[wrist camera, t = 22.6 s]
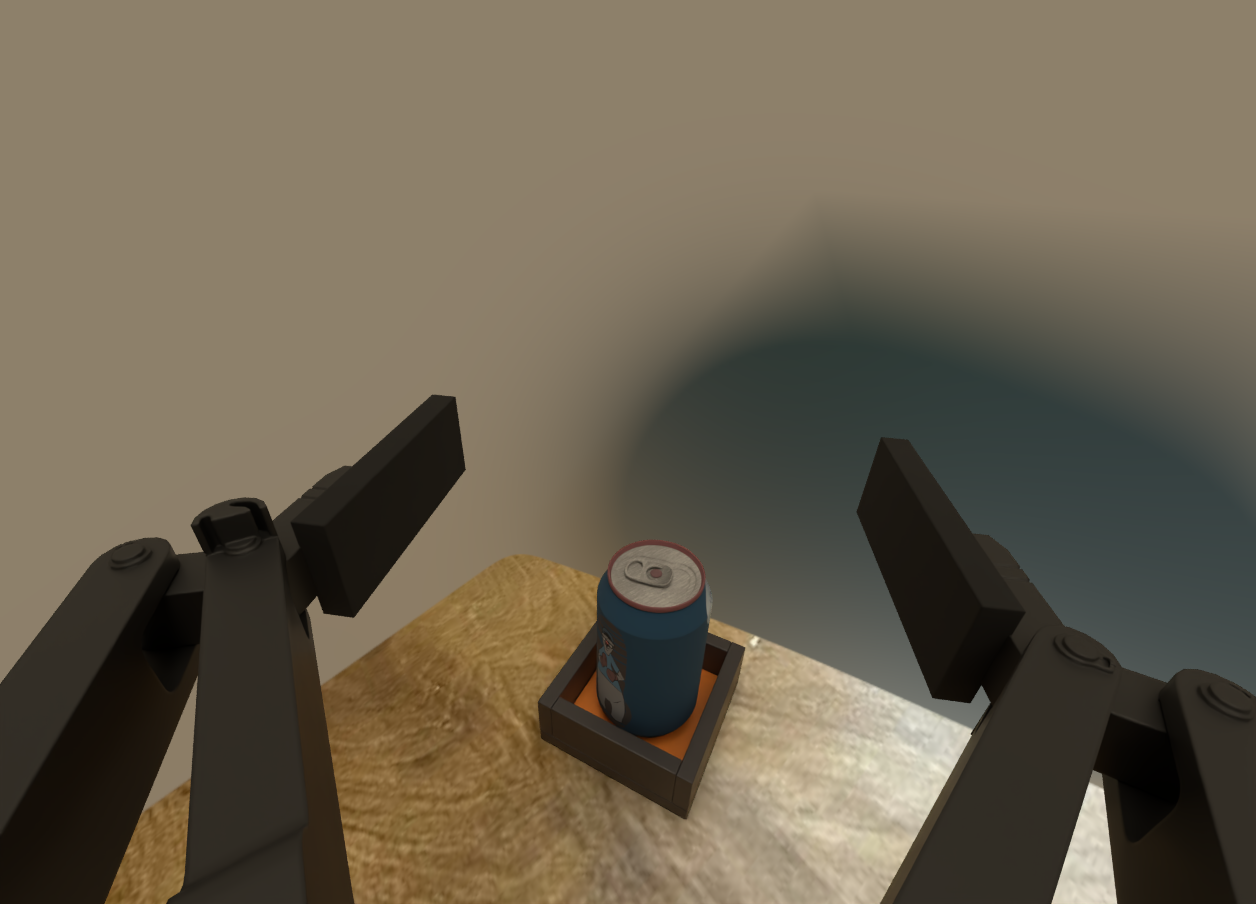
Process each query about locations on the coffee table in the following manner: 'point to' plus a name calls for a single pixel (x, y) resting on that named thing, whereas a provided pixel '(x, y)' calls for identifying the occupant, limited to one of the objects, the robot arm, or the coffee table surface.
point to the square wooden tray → (637, 762)
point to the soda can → (651, 636)
